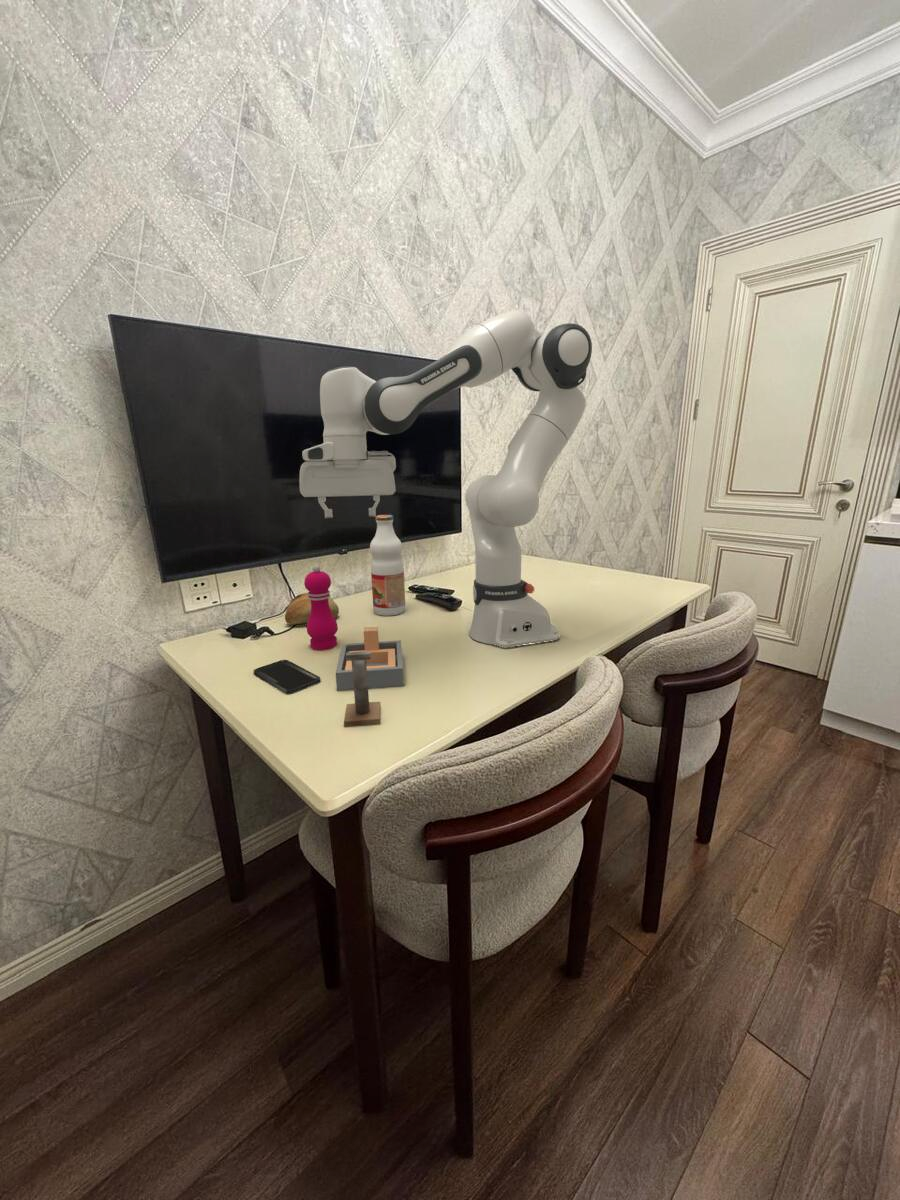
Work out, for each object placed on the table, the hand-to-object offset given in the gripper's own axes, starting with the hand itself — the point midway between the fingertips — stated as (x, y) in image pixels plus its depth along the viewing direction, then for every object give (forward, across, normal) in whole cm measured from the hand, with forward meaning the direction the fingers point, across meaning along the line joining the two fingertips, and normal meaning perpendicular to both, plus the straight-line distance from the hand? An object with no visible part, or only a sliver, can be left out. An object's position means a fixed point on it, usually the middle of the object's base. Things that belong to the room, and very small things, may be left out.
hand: (350, 517), depth 105 cm
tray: (+31, -3, +14) cm, 34 cm away
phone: (+32, +15, +14) cm, 37 cm away
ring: (+30, -3, +14) cm, 33 cm away
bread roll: (+31, +14, -22) cm, 41 cm away
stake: (+31, -2, +32) cm, 45 cm away
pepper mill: (+31, +9, -3) cm, 33 cm away
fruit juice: (+31, -7, -27) cm, 42 cm away
